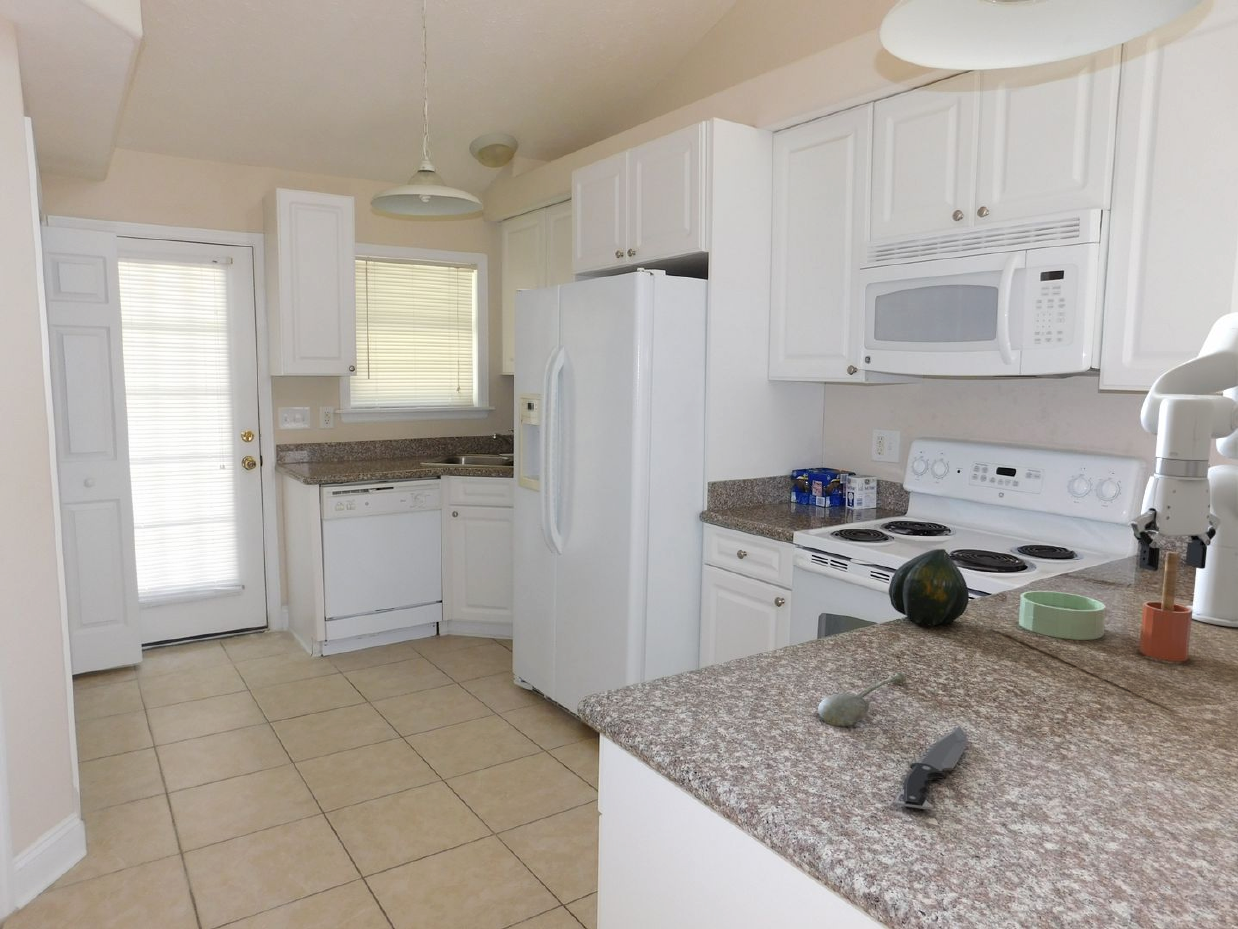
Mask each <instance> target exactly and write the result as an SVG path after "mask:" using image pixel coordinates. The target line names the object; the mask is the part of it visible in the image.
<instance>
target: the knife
mask: <svg viewBox="0 0 1238 929" xmlns="http://www.w3.org/2000/svg"><path fill="white" fill-rule="evenodd" d="M967 746H968V738H967V735H966V733H965V731H964V730H963V728H962V727H961V726H960V725H959V726H957V727H955V728H954V729H952V730H951V731H950V732H948V733H946V734H945V735H944V736H941V737H940V738H939V739H937V740H936V741H935V742H933V743H932V745H930V747H929V748H928V749H927V750H926V751H925V753H924V754H922V755H923V756H921V758H919V759H918V761H917V762H912V763H911V764H910V765H909V767H910V769H911V771H910V772H909V773H908V775H907V776H906V777H905V778H903V779H904V782H903V786H902V790H900V791H899V792H898V793H897V795H896V797H895V799H894V806H900V807H904V808H905V810H911V811H919V810H921V809H923V810H930V811H932V810H933V809H934V806H935V805H933V804H931V803H930V802H928V799H927V797H926V795H927V794H929V793H930V789H929V788H928V787H930V786H931V785H932V781H944V780H948V775H947V773H945V772H943V771H953V769H954V767H955V766H956V765H957V763H958V761H959V760H960V758H961V756H962V755H963V753H964V752H965V750H966V748H967ZM901 797H903V800H902V801H901V800H900V799H901Z"/></svg>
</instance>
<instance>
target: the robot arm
mask: <svg viewBox="0 0 1238 929" xmlns="http://www.w3.org/2000/svg"><path fill="white" fill-rule="evenodd" d="M1220 392H1223V393H1222V394H1223V395H1218V394H1217V395H1214V394H1215V393H1220ZM1140 424H1141V426H1142V428H1143V430H1144V431H1145V432H1146V433H1148V434H1151V435H1154V436H1156V445H1155V446H1156V448H1155V457H1154V470H1153V475H1151V476H1149V479H1148V481H1147V484H1146V487H1145V491H1144V495H1143V501H1142V506H1141V512H1140V515H1139V516H1137V517H1135V518H1133V519H1132V520H1131V521H1130V526H1131V528H1132V531H1133V537H1134V538H1135V539H1136V540H1137V544H1138V545H1140V552H1139V564H1138V565H1139V567H1140V568H1141V569H1145V570H1148V571H1152V572H1157V571H1158V570H1159V563H1160V553H1161V552H1160V551H1161V550H1160V547H1157V546H1159V544H1160V543H1161V541H1162V540H1163V539H1164V538H1165V537H1166V538H1167V537H1170V538H1171V537H1188V538H1189V540H1190V542H1187V544H1186V545H1187V546H1186V557H1185V565H1186V566H1188V567H1193V568H1196V570H1195V581H1194V590H1193V591H1194V592H1193V600H1192V601H1193V602H1192V605H1186V606H1185V607H1188V608H1190V609H1192V620H1195V621H1198V622H1201V623H1206V624H1210V625H1215V626H1222V627H1229V628H1238V464H1219V465H1214V466H1210V465H1211V464H1210V458H1211V456H1210V455H1211V446H1212V440H1216V441H1215V445H1216V446H1215V447H1216V450H1217V452H1218V453H1219V455H1221V456H1222V457H1224V458H1228V459H1233V460H1238V311H1237V312H1236V311H1235V312H1231V313H1227V314H1225V315H1223V316H1221V317H1220V318H1219V319H1217V320H1216V321H1215V322H1214V324H1213V326H1212V327H1211V329H1210V332H1209V333H1208V336H1207V338H1206V339H1205V341H1204V343H1203V345H1202V347H1201V350H1200V351H1199V353H1198V355H1197V356H1196V357H1194V358H1192V359H1189V360H1187V361H1185V362H1183V363H1180V364H1179V365H1177V366H1175V367H1173V368H1171V369H1169V370H1168V371H1166V372H1164V373H1163V374H1161V375H1160V376H1159V377H1158V378H1157V379H1155V381H1154V383H1153V384H1152V385H1151V388H1150V390H1149V391H1148V393H1147V395H1146V397H1145V399H1144V401H1143V404H1142V407H1141V409H1140Z"/></svg>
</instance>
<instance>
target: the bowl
mask: <svg viewBox="0 0 1238 929" xmlns="http://www.w3.org/2000/svg"><path fill="white" fill-rule="evenodd" d="M1106 611H1107V606H1106V604H1105V603H1104V602H1101V601H1099V600H1097V599H1094V598H1092V597H1088V596H1084V595H1080V594H1075V593H1069V592H1061V591H1055V590H1054V591H1053V590H1052V591H1051V590H1029V591H1025V592H1022V593H1021V594H1019V607H1018V619H1017V620H1018V625H1019V626H1021V627H1022V628H1023V629H1025V630H1028V631H1030V632H1032V633H1036V634H1039V635H1043V636H1047V637H1052V638H1057V639H1065V640H1075V641H1077V640H1078V641H1087V640H1097V639H1101V638H1102V637H1104V634H1105V621H1106V613H1107V612H1106Z"/></svg>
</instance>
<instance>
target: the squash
mask: <svg viewBox="0 0 1238 929" xmlns="http://www.w3.org/2000/svg"><path fill="white" fill-rule="evenodd" d="M888 596H889V599H890V605H891V606H892V607H893V609H894V610H895V611H897V612H898V613H899V614H902V615H904V616H905V617H906V618H907V619H908V621H909V622H910V623H912V624H913V625H915V626H920V625H923V624H924V623H925V624H926V625H928V626H937V625H939V624H941V623H944V624H947V623H952V622H954V621H955V620H957V619H958V618H960V617H961V616H962V615H963V614H964V613H965V611H966V609H967V607H968V604H969V600H970V594H969V588H968V586H967V582H966V579H965V577H964V575H963V574H962V571H961V570H960V568H958V566H957V565H956V563H955V562H954V560H953V559H952V558H951V556H950V554H949V553H948V552H947V551H946V549H945V548H937V549H931V550H929V551H926V552H924V553H921V554H919V555H918V556H915V557H914V558H911V559H910V560H908V561H906V562H904V563H903V564H902V565H901V566H899V567H898V568H896V570H895V571H894V573H893V575H892V577H891V580H890V583H889V587H888Z"/></svg>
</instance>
